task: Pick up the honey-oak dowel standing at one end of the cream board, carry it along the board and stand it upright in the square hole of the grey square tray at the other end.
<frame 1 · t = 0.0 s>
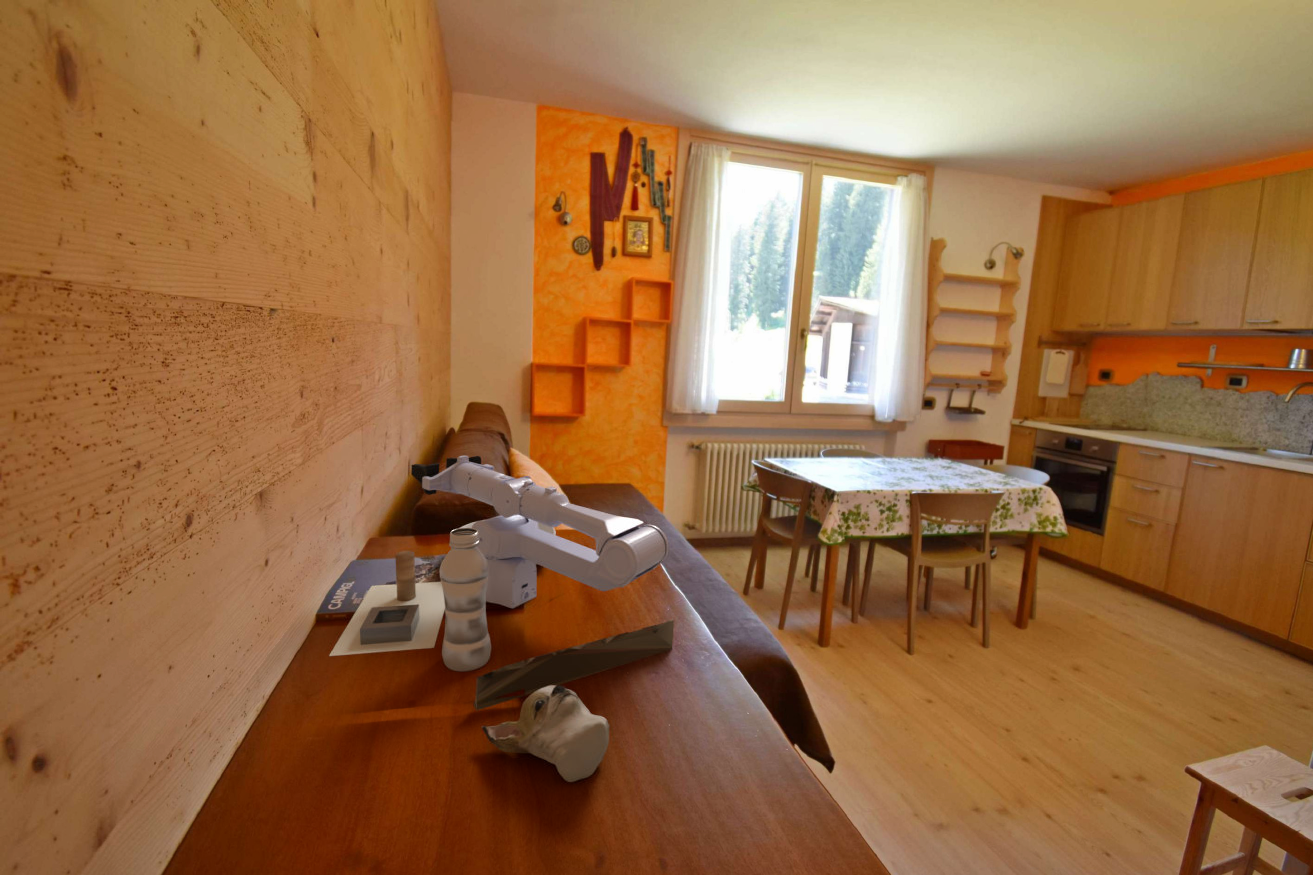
hand: (430, 466, 109), 22 cm above the table, fingers open, 7 cm apart
grey square tray: (391, 631, 88), resting on cream board
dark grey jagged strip: (582, 677, 81), on the table
ceramic sculpture: (555, 755, 65), on the table
serving bowl: (505, 565, 119), on the table
cream board: (399, 618, 94), on the table
oak dowel: (406, 597, 100), point 1 cm above the table, touching cream board
plastic bottle: (467, 667, 81), on the table
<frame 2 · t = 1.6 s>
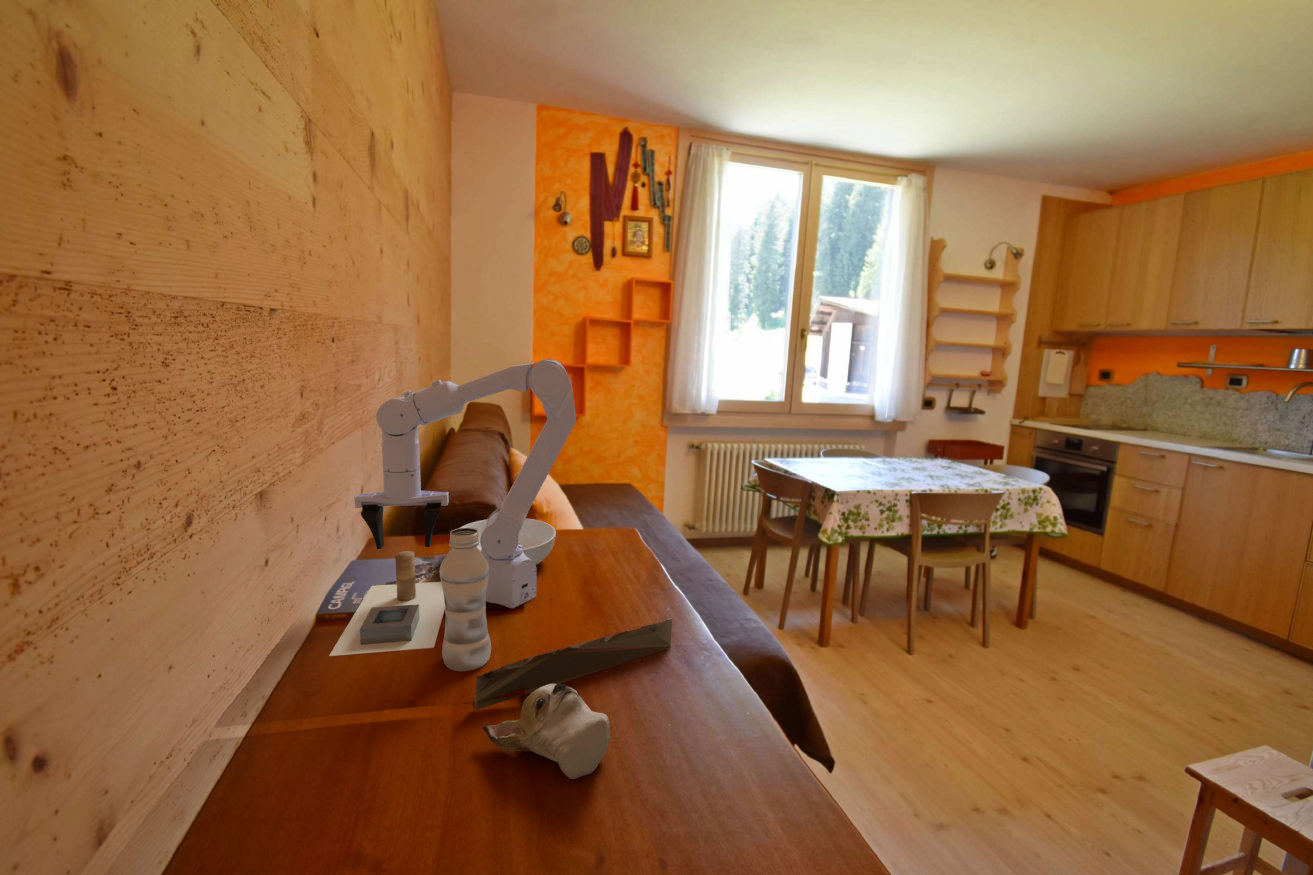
hand: (404, 546, 98), 10 cm above the table, fingers open, 7 cm apart
nothing on the table moved.
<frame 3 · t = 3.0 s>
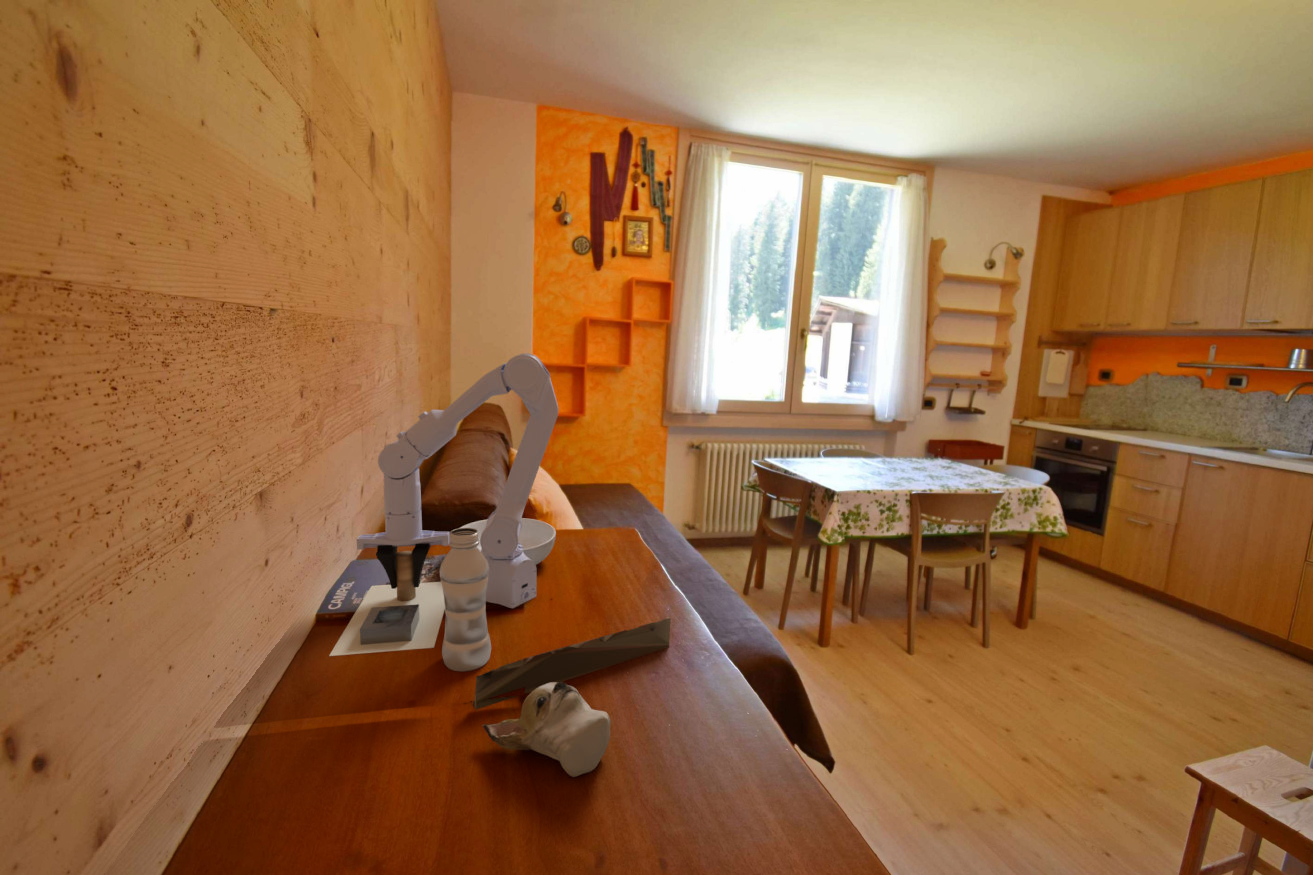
hand: (406, 585, 99), 3 cm above the table, fingers closed on oak dowel, 3 cm apart
oak dowel: (406, 597, 100), point 1 cm above the table, touching gripper, cream board
everything else where it was.
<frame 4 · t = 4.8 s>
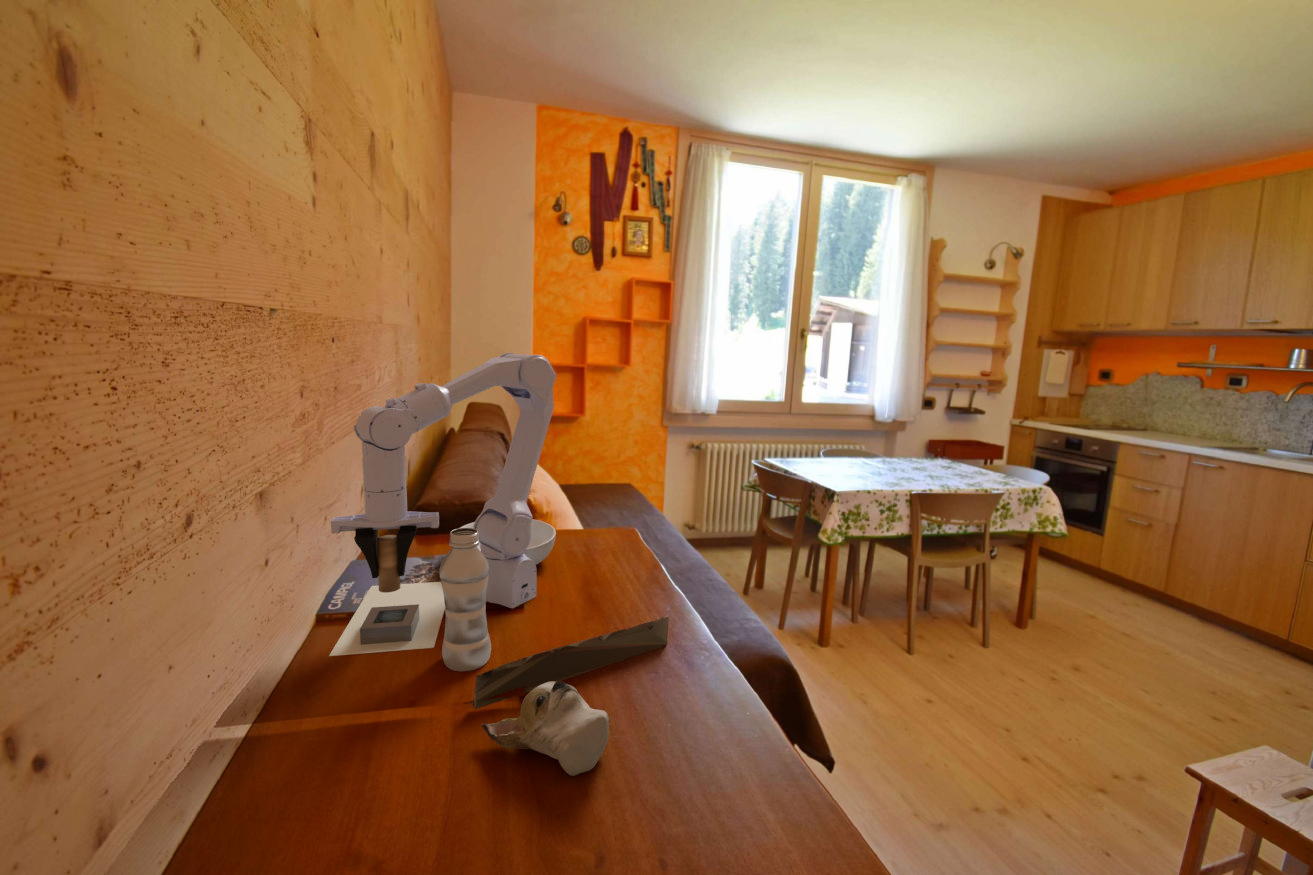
hand: (389, 574, 87), 10 cm above the table, fingers closed on oak dowel, 3 cm apart
oak dowel: (389, 588, 87), point 8 cm above the table, touching gripper
everything else where it was.
when the fingers open (4 cm above the table, at t = 6.5 s): oak dowel drops 1 cm, resting on cream board.
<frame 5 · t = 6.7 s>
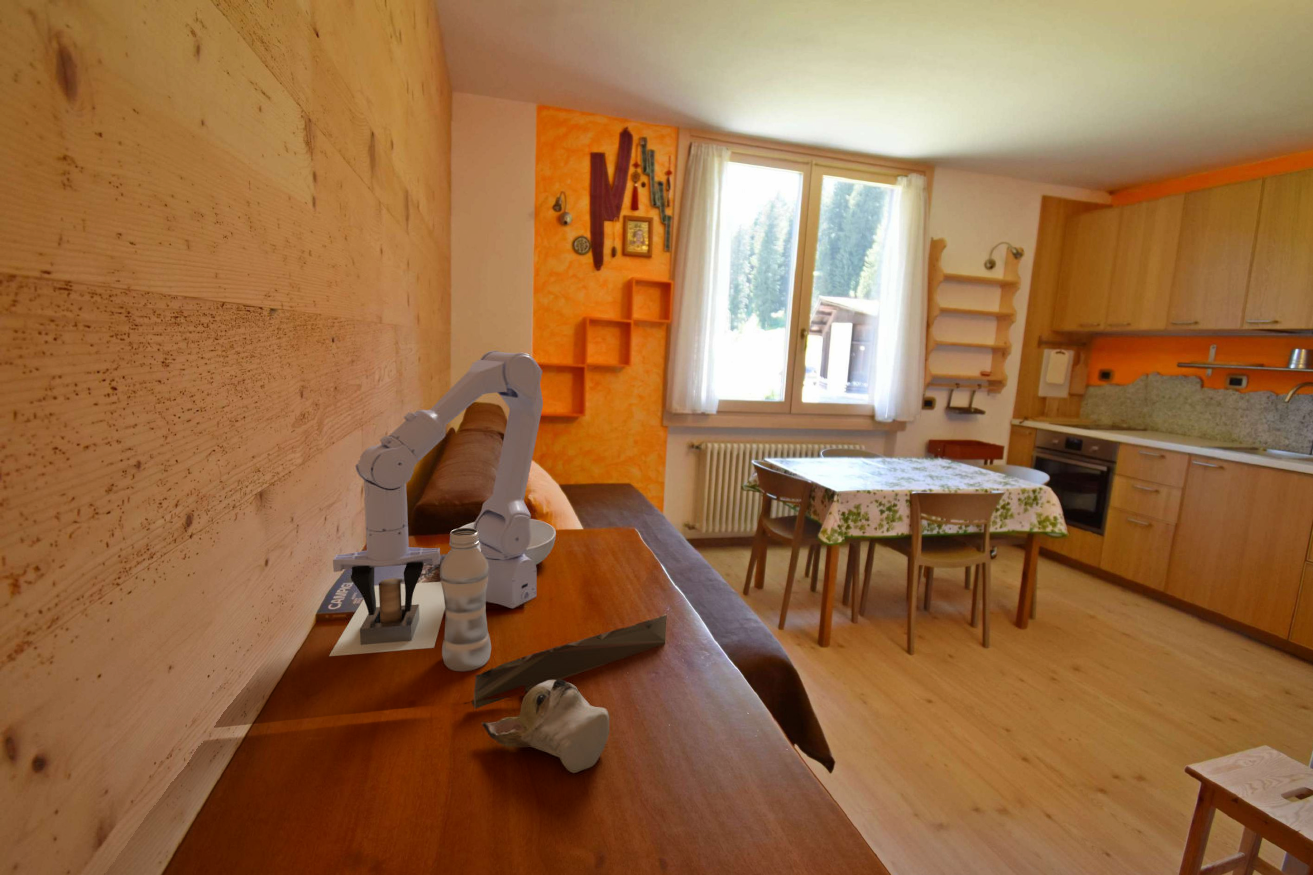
hand: (390, 610, 88), 4 cm above the table, fingers open, 4 cm apart
oak dowel: (391, 630, 88), point 1 cm above the table, touching cream board
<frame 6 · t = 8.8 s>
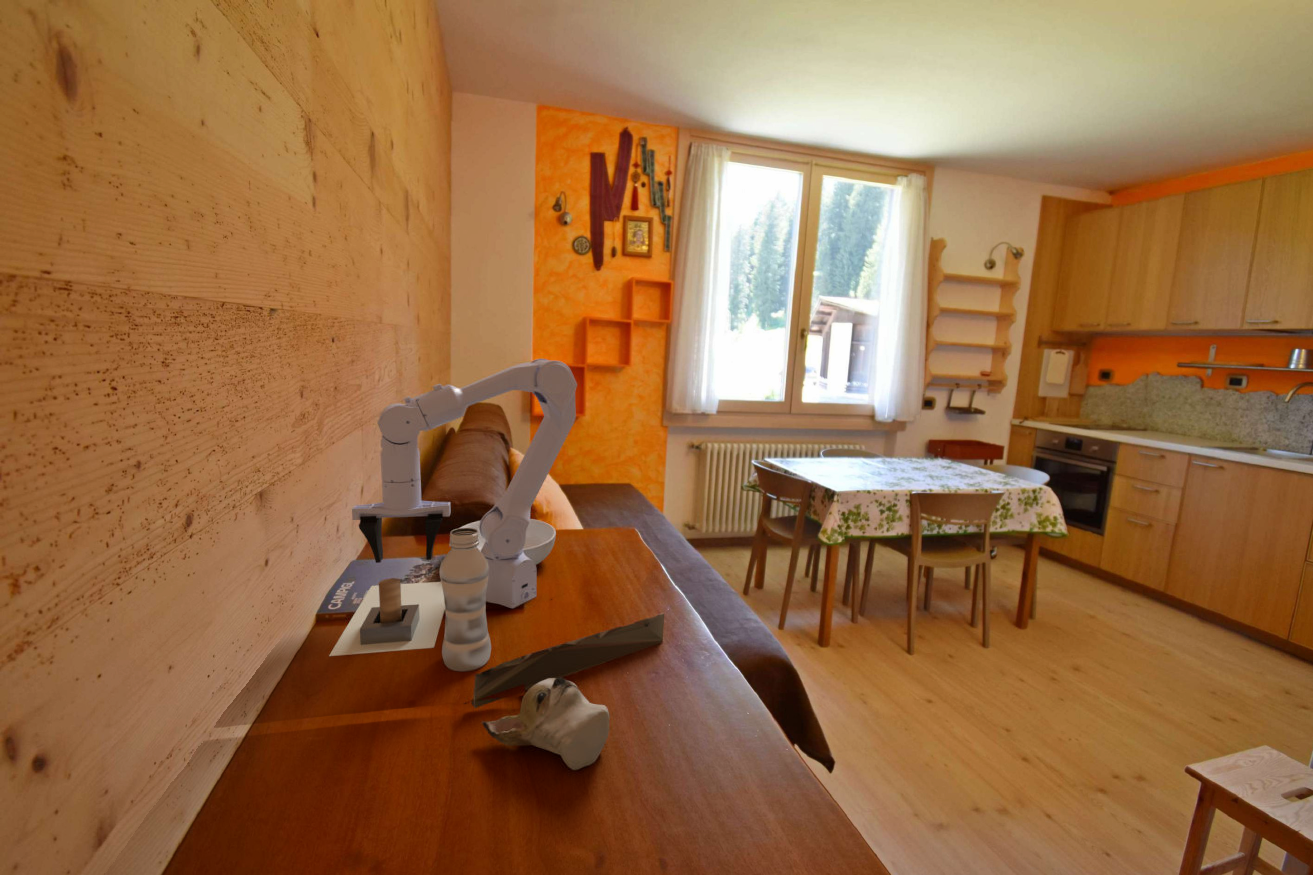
hand: (404, 559, 94), 10 cm above the table, fingers open, 7 cm apart
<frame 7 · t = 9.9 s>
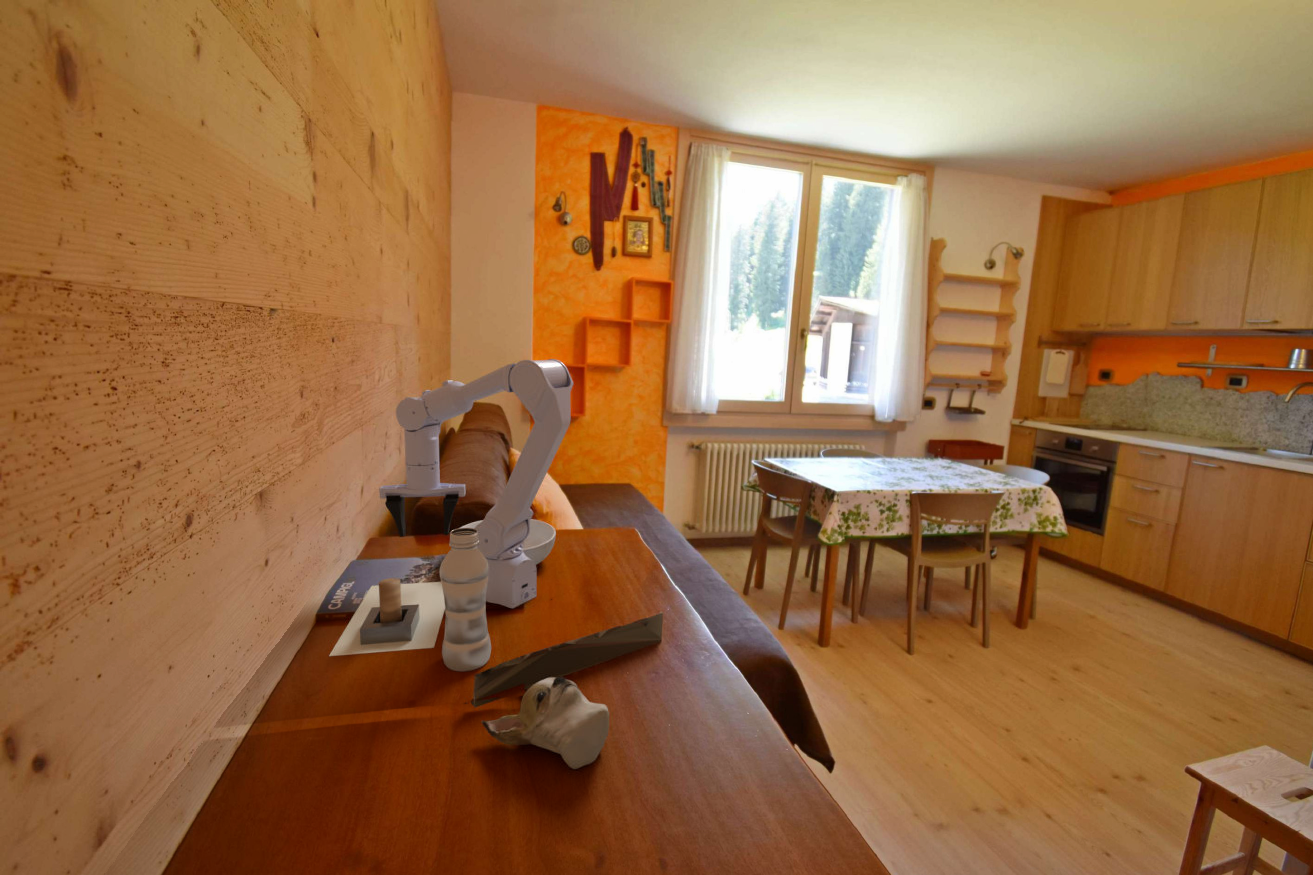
hand: (424, 534, 106), 10 cm above the table, fingers open, 7 cm apart
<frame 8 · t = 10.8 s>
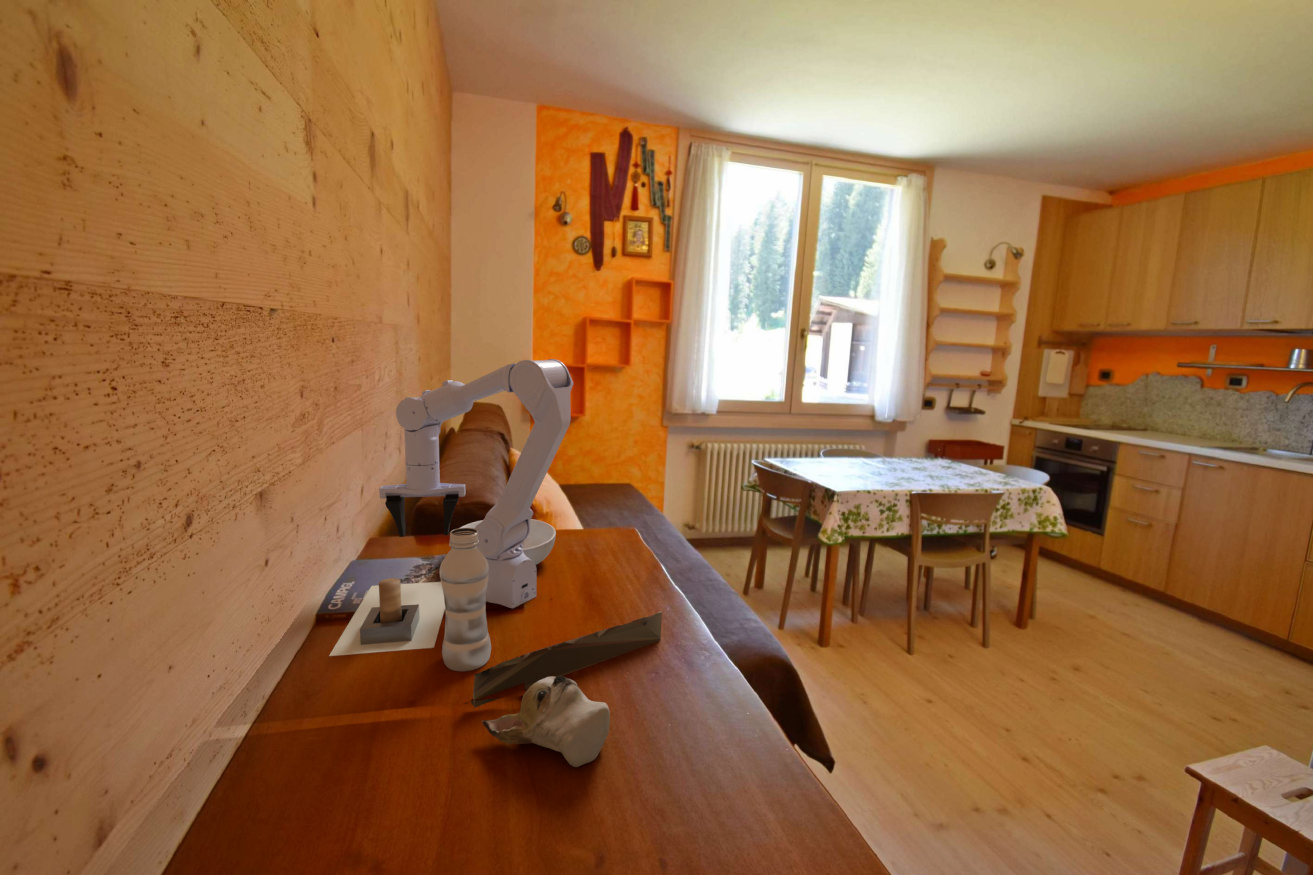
hand: (424, 534, 106), 10 cm above the table, fingers open, 7 cm apart
at the end: oak dowel 0.1 cm from the target spot, point 1.0 cm above the table; oak dowel tilted 0°; the gripper is holding nothing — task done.
